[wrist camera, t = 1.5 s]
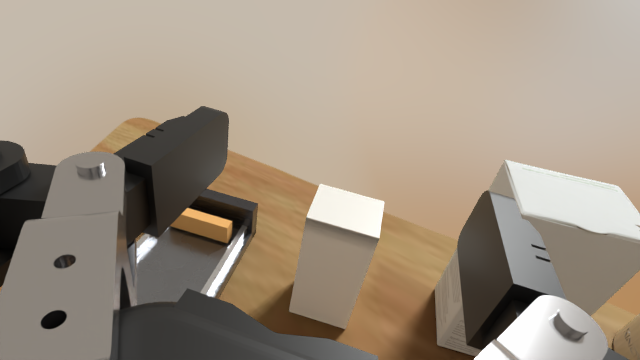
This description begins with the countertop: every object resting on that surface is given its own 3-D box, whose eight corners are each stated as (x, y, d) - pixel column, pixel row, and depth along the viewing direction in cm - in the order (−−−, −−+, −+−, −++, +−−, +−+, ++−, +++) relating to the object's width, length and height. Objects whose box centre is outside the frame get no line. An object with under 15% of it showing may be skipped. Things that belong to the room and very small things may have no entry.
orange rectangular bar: (231, 236, 34) (232, 221, 33) (227, 243, 33) (227, 228, 32) (174, 219, 35) (172, 203, 34) (168, 225, 34) (166, 210, 33)
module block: (353, 291, 33) (384, 201, 27) (345, 329, 30) (379, 238, 23) (301, 275, 34) (320, 183, 27) (288, 311, 30) (306, 217, 24)
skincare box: (516, 311, 34) (624, 184, 25) (533, 380, 29) (678, 251, 20) (430, 286, 35) (503, 153, 26) (431, 348, 30) (524, 210, 20)
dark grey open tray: (255, 232, 37) (257, 203, 35) (174, 376, 25) (169, 346, 22) (175, 209, 38) (172, 179, 35) (60, 336, 26) (43, 304, 23)
